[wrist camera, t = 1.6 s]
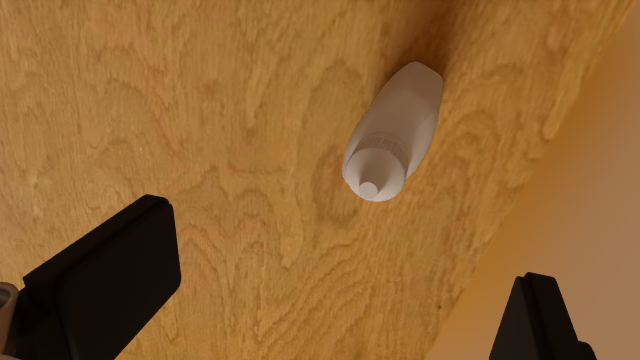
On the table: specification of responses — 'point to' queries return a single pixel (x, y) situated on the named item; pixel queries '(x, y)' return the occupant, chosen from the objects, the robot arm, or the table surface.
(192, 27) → the table surface
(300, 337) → the table surface
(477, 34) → the table surface
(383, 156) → the eye dropper bottle
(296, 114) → the table surface
